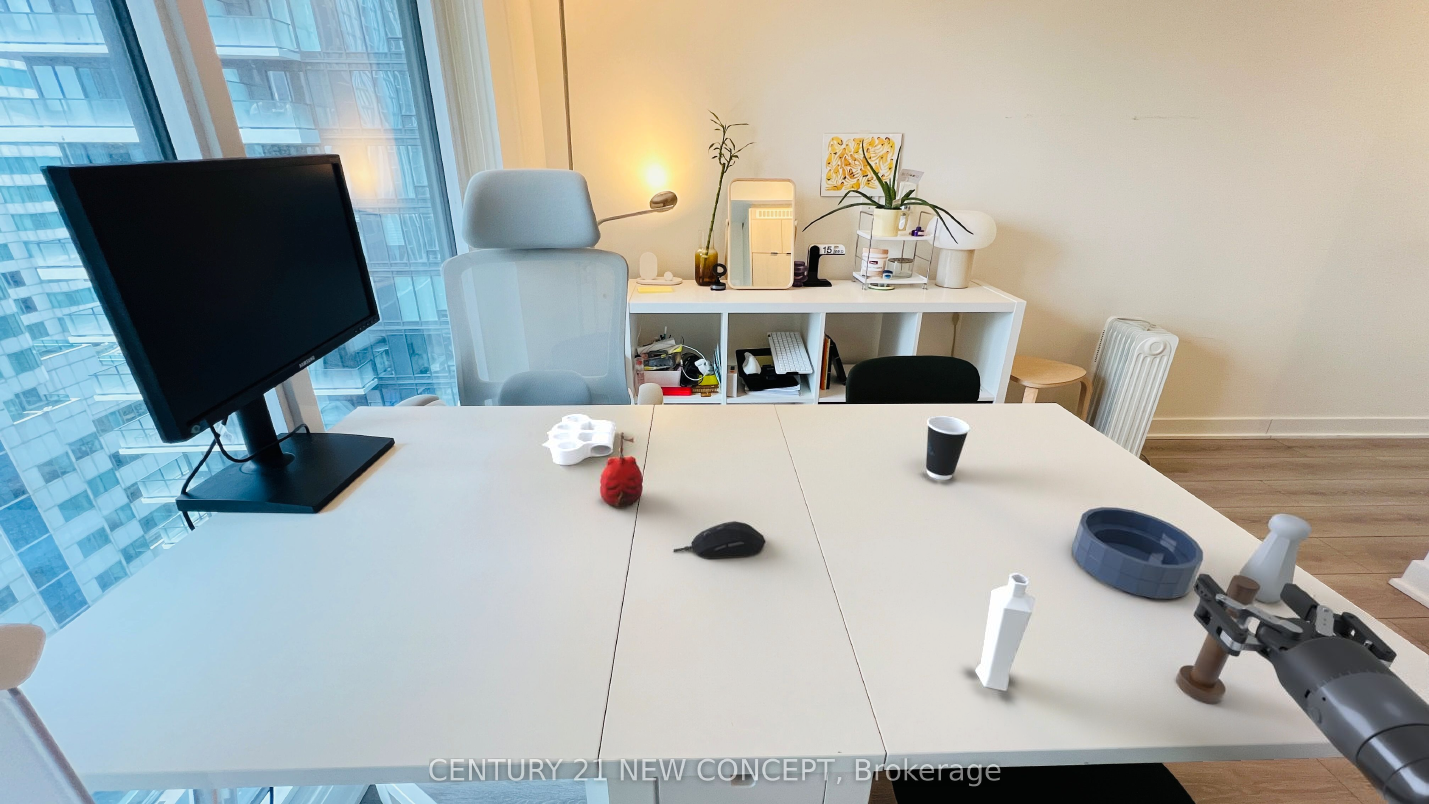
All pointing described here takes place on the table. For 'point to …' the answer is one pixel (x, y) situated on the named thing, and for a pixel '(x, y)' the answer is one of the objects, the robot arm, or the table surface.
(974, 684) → the table surface
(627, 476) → the red clay folk toy
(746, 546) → the gaming mouse
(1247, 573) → the salt shaker
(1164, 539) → the bowl
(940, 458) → the dixie cup
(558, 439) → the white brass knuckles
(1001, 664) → the perfume bottle
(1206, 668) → the pestle
